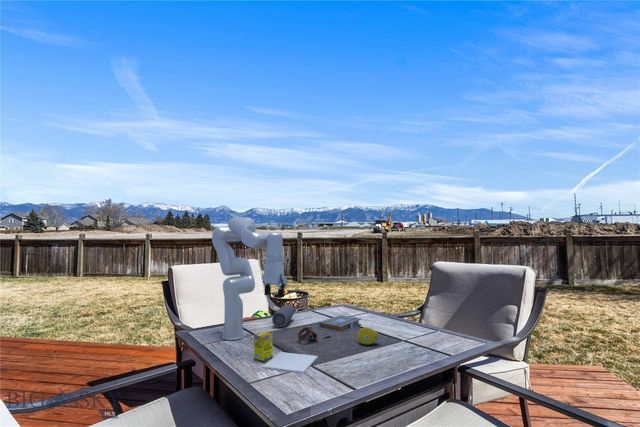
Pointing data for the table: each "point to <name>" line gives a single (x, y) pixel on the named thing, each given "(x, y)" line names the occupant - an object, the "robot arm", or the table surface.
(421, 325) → the table surface
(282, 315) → the bluetooth speaker
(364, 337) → the lemon
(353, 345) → the table surface
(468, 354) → the table surface
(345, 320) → the book
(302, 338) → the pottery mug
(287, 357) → the flat white board
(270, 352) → the supplement box
